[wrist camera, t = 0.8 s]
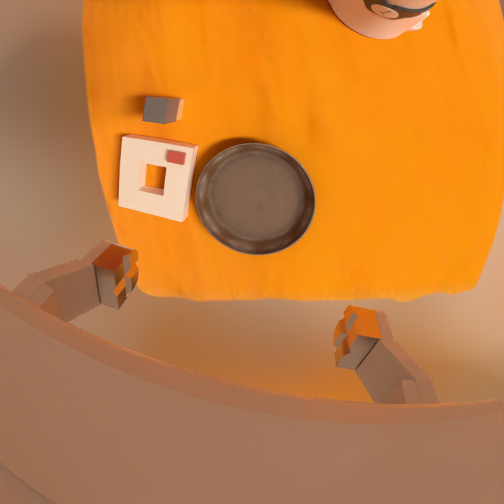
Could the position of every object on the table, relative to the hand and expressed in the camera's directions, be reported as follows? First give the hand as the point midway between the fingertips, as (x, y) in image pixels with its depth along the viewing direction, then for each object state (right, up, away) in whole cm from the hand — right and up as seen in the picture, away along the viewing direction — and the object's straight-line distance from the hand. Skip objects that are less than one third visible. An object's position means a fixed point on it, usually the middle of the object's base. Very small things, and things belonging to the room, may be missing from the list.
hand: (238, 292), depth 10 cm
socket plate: (-17, +16, +39) cm, 46 cm away
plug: (-13, +26, +32) cm, 44 cm away
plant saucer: (+1, +11, +40) cm, 41 cm away
